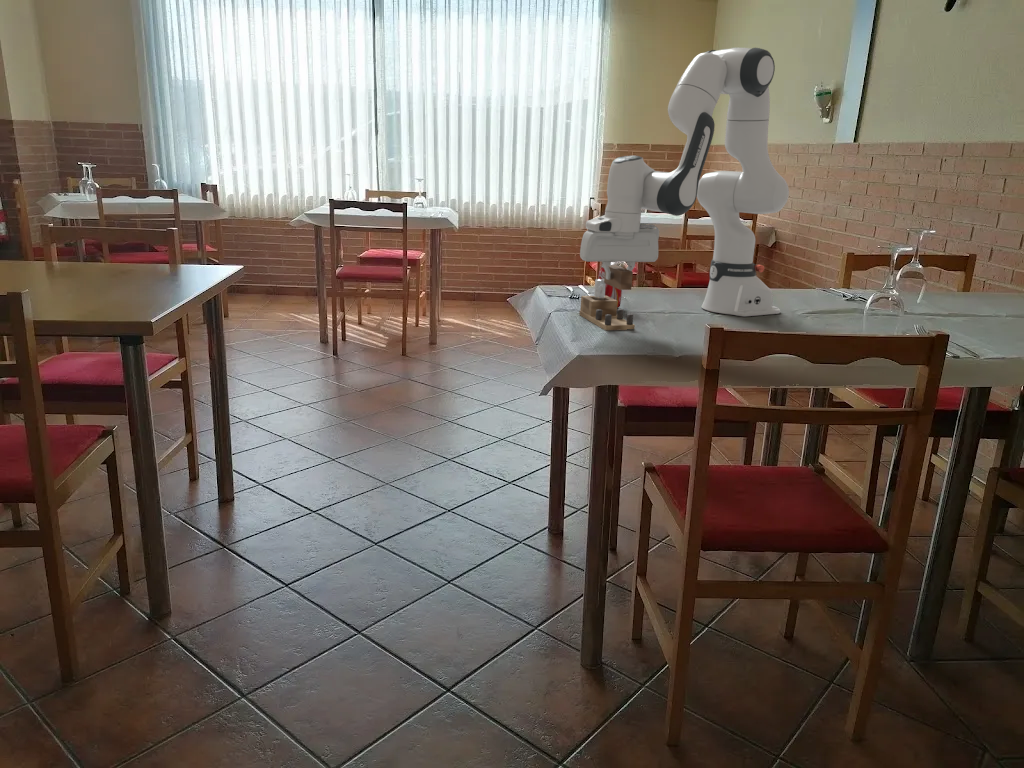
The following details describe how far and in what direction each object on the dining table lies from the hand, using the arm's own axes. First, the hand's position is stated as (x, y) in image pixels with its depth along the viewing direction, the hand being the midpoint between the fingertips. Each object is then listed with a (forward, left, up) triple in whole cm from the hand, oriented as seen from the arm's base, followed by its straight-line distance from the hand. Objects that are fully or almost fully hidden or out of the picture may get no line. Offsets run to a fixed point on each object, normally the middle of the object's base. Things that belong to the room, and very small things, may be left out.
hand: (617, 279), depth 196 cm
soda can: (-8, -22, -13) cm, 27 cm away
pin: (0, -11, -11) cm, 15 cm away
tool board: (0, -5, -12) cm, 13 cm away
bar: (0, 0, -2) cm, 2 cm away
